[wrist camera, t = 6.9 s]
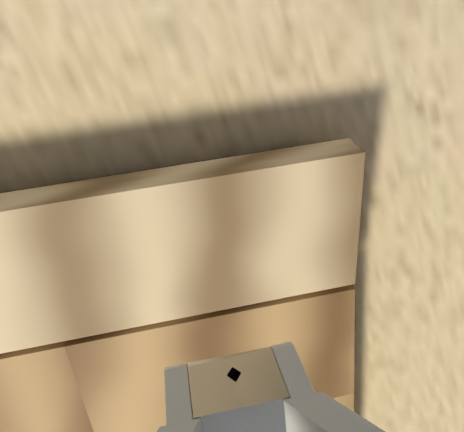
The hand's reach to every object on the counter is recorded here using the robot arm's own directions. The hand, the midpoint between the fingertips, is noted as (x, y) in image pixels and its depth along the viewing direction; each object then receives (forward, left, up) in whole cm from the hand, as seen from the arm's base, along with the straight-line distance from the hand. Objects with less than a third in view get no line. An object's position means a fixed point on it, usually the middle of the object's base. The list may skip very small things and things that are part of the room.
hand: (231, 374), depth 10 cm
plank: (+5, +1, -10) cm, 12 cm away
